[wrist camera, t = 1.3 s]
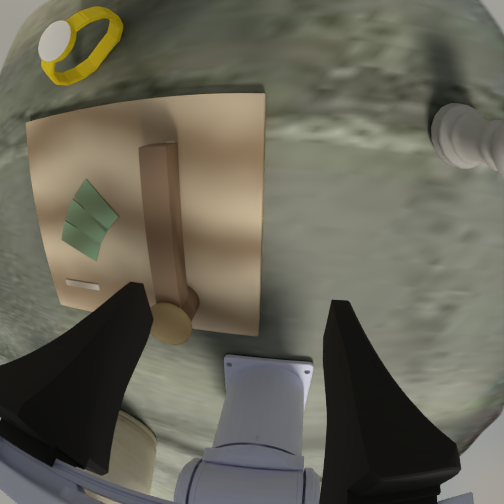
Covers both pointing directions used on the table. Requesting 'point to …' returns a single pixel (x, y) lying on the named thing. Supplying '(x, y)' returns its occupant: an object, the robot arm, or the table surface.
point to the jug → (129, 457)
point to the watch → (63, 39)
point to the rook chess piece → (468, 138)
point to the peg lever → (166, 243)
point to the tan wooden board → (131, 206)
